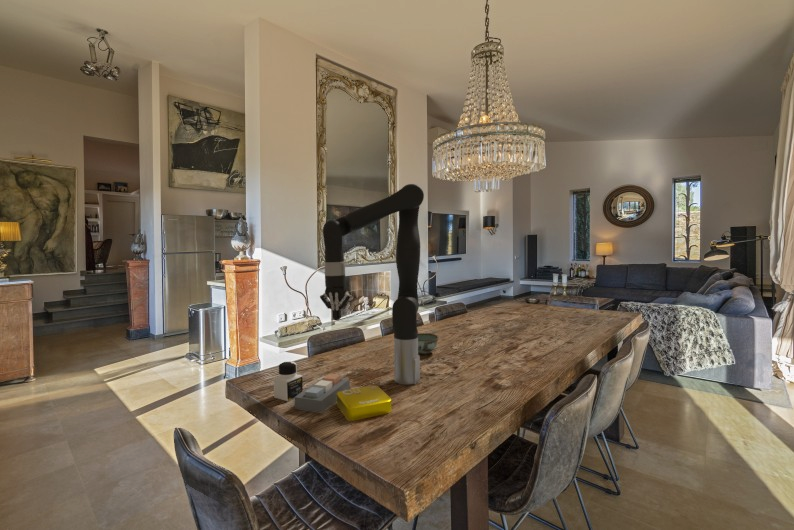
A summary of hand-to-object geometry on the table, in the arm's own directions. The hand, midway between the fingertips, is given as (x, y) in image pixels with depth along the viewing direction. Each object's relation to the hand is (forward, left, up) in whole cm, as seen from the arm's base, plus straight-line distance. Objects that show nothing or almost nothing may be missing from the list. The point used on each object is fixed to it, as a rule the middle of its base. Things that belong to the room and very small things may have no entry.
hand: (336, 319), depth 145 cm
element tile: (-17, +15, -26) cm, 35 cm away
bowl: (-20, -49, -25) cm, 59 cm away
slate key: (-2, +20, -23) cm, 30 cm away
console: (-2, +14, -25) cm, 28 cm away
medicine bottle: (+12, +15, -25) cm, 32 cm away
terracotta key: (-2, +8, -23) cm, 24 cm away
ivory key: (-2, +14, -23) cm, 27 cm away
